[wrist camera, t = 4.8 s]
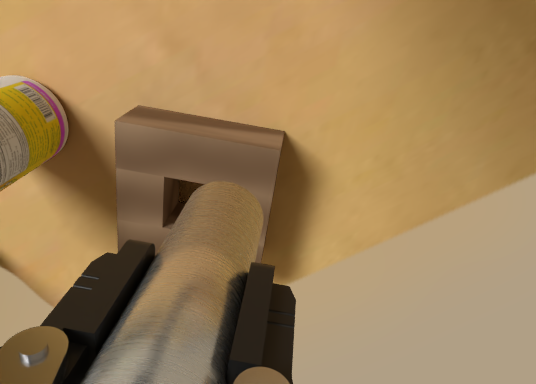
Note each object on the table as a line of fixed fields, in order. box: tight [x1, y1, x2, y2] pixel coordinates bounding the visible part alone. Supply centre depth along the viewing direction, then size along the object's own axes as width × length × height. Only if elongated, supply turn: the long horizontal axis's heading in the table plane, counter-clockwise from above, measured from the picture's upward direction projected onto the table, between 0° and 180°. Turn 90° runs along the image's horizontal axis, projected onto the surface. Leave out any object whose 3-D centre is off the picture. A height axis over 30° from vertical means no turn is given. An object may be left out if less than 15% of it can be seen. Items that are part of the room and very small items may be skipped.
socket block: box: [115, 105, 284, 263], centre depth 30 cm, size 11×11×4 cm
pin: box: [80, 181, 263, 384], centre depth 10 cm, size 4×4×12 cm
